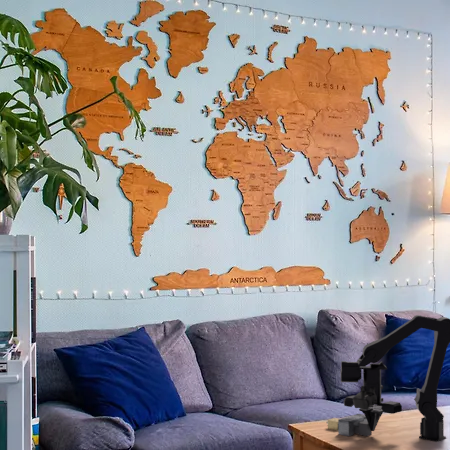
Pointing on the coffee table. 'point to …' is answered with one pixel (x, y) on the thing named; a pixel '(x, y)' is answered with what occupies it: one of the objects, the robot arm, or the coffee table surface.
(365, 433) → the stepped grey block
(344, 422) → the curved dark grey plate
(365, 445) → the coffee table surface
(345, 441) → the coffee table surface
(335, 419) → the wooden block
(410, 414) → the coffee table surface
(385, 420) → the coffee table surface
